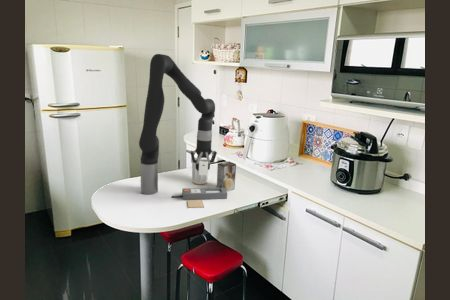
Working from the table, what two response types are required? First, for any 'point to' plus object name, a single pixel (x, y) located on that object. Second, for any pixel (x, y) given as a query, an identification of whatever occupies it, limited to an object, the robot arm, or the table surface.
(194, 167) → the cup
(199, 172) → the charger
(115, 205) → the table surface
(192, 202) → the cork mat
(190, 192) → the power strip
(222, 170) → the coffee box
